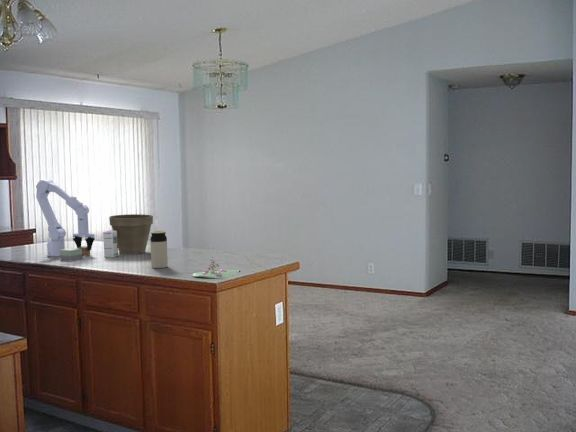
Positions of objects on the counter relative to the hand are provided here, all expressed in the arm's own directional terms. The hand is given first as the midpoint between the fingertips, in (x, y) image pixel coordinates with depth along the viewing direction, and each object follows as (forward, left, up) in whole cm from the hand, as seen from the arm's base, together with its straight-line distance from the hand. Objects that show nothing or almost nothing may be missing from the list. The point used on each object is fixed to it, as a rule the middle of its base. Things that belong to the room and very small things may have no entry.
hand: (84, 250), depth 362 cm
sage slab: (+4, -14, -1) cm, 15 cm away
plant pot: (+20, +18, -3) cm, 27 cm away
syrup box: (+18, +2, -3) cm, 18 cm away
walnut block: (0, 0, -3) cm, 3 cm away
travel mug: (+68, -19, -3) cm, 71 cm away
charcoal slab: (+4, -14, -4) cm, 15 cm away
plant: (+106, -25, -4) cm, 109 cm away
